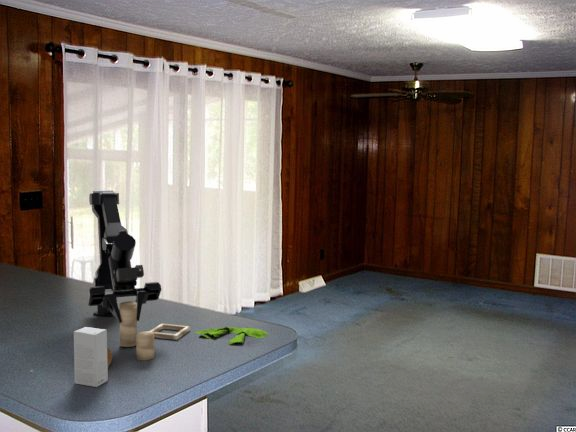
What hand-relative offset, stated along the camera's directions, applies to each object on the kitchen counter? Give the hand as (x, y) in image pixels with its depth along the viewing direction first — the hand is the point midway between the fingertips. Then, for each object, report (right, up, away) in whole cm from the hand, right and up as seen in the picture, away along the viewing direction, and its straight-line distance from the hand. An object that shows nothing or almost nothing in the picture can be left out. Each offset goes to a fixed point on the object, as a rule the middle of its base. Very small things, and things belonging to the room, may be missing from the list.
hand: (129, 321), depth 153 cm
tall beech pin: (-1, -6, +2) cm, 7 cm away
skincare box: (-2, -10, -22) cm, 25 cm away
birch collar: (+8, -6, +13) cm, 16 cm away
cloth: (+25, -7, +12) cm, 28 cm away
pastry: (-5, -9, -10) cm, 14 cm away
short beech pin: (+6, -8, -6) cm, 11 cm away
